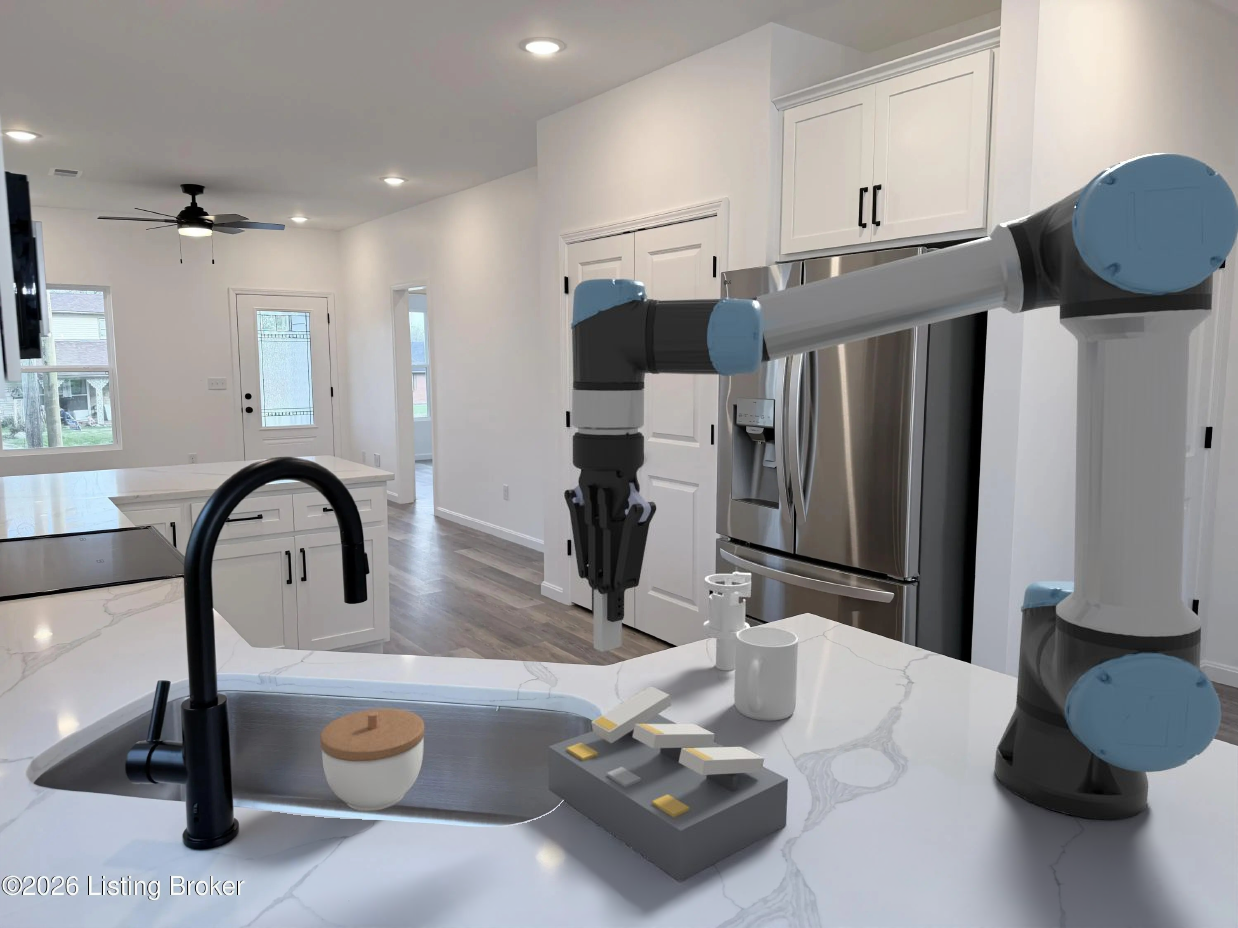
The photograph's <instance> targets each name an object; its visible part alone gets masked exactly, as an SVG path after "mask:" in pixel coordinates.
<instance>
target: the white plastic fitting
mask: <svg viewBox="0 0 1238 928" xmlns="http://www.w3.org/2000/svg"><path fill="white" fill-rule="evenodd" d="M717 582H718V583H717ZM719 582H724V584H721V583H719ZM733 583H738V584H733ZM704 587H705V589H707V590H709V591H712V592H713V593H711V594H709V596H708V620H706V621H704V622H703V633H704V635H706V636H708V637H709V638H713V639H716V643H715V646H716V647H715V649H716V650H715V652H716V653H715V668H716V669H718V670H722V671H733V670H735V651H736V634H737V632H738V631H740V630H742V629H745V628H750V627H751V626H750V624H749V623H748V622H746V602H747V601H746V599H744V598H751V595H752V594H751V593H752V591H751V590H752V573H751V572H740V571H734V572H733V571H732V573H715V574H711V575H710V574H709V575H707V576H705V578H704ZM719 593H722V595H721V594H719ZM741 597H742V598H743V599H742V602H740V598H741ZM739 602H740V603H739Z"/></svg>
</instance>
